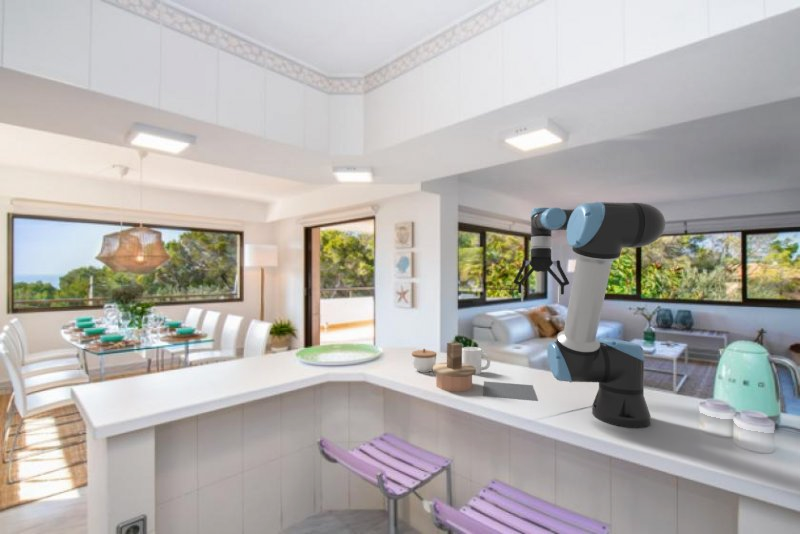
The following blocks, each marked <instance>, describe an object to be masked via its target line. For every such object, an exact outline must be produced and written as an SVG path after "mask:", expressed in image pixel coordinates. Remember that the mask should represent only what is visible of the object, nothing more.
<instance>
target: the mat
mask: <svg viewBox="0 0 800 534" xmlns="http://www.w3.org/2000/svg"><path fill="white" fill-rule="evenodd" d="M482 391H483V392H482V396H483V397H491V398H499V399H500V398H501V399H510V400H521V401H523V400H524V401H534V402H535V401H536V402H538V401H539V399H538V396H537V393H536V391H535V388H534V386H533V385H532V384H524V383H523V384H520V383H510V382H498V381H486V380H484V381H483V390H482Z"/></svg>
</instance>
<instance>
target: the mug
mask: <svg viewBox="0 0 800 534" xmlns="http://www.w3.org/2000/svg"><path fill="white" fill-rule="evenodd" d="M482 357H484V358H485V359H486V365H485V366H482ZM462 363H463V364H468V365H471V366H473V367H475V368H476V373H475V374H474V375H479V374H481V373H482V371H486V370H487V369H489V368H490V366H491V358H490V357H489V355H488V354H487V353H485V352H482V348H480V347H476V346H464V347H463V346H462Z"/></svg>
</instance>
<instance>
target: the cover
mask: <svg viewBox="0 0 800 534" xmlns="http://www.w3.org/2000/svg"><path fill="white" fill-rule="evenodd" d="M462 348H463V344H462V343H459V342H456V341H454V342H447V343H446V362H439V363H435V365H434V366H433V369H432V372H434V373H435V374H436V373H437V374H440V375H444V376H451V377H466V376H471V375H472V376H474V375H476V374H475V373H476V368H475V367H473V366H471V365H468V364H463V363H462Z"/></svg>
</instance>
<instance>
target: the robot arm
mask: <svg viewBox="0 0 800 534" xmlns="http://www.w3.org/2000/svg"><path fill="white" fill-rule="evenodd" d="M530 214H531V215H530V230H531V231H530V247H531V249H530V260H525V259H523V260H522V263H521V264H522V265H521V266H520V268H519V271H518V273H517V274H516V276H515V278H514V279H513V283H514V284H515V285H517V293H518V294H520V296H521V297H520V302H521V303H524V284H523V283H524V282H525V281H526V280H527V279H528V278H529V277H530V275H531V274H532V273H533V272H537V273H538V272H539V273H540V272H543V273H545V272H548V273H549V274H550V275H551V277H552V278H553V279H554V280H555V281H556V282H557V283H558V284H559V285H558V286H557V304H562V298H561V297H562V295H564V294H565V287H566V286H567V285H569V284H570V281H569V280H568V278H567V276H566V274H565V272H564V269H563V267H562V266H561V261H560V259H559V260H554V261H553V260H552V249H551V247H552V231H566V241H567V244H568V245H569V246H570V247H572V249H571V251H572V253H573V254H574V256H576V261H575V265H574V266H575V267H574V272H573V278H572V284H571V288H570V294H569V300H568V305H567V311H566V317H565V323H564V327H563V328H564V329H563V330H561V331H560V332H558V333H557V337H556V341H550V342H549V343H548V344H547V347H546V348H547V349H546V350H547V352H546V353H547V361H548V365H549V368H550V372H551V374H552V376H553V378H555V379H556V380H557V381H559V382H569V383H598V389H597V392H596V395H595V398H594V400H593V403H592V405H591V408H592V409H591V410H592V412H591V413H592V414H591V415H593V416H594V417H595V418H597V419H598V420H600V421H603V422H604V423H608V424H610V425H616V426H620V427H623V428H624V427H625V428H636V429H638V428H646V427H649V426H651V421H652V420H651V419H652V418H651V417H652V416H651V413H650V411H649V407H648V405H647V401H646V399H645V398H646V397H645V395H644V394H645V393H644V390H645V389H644V387H645V386H644V385H645V382H644V381H645V380H644V379H645V377H644V376H645V373H644V372H645V370H644V369H645V353H644V352H645V351H644V348H643V347H642V346H641V345H639V344H637V343H634V342H631V341H626V340H622V339H617V338H611V337H599V339H598V338H597V333H598V330H599V324H600V321H601V315H602V310H603V306H604V305H603V304H604V300H605V298H606V296H605V295H606V291H607V287H608V283H609V278H610V273H611V270H612V269H611V268H612V265H613V264H612V263H613V262H614V261H617V260H618V259H620V258H621V255H622V254H621V252H622V249H624V248H626V249H628V248H641V247H646V246H648V245H651V244H653V243H654V242H656V241H658V240H659V238H660V237H662V235H663V233H664V231H665V228H666V218H665V216H664V214H663V213H662V212H661V211H660V210H659V209H658V208H657V207H655V206H654V205H651V204H647V203H643V202H605V201H604V202H602V201H596V202H584V203H582V204H579V205H578V206H576V208H574V209H568V208H567V209H564V208H563V209H562V208H560V207H543V206H542V207H536V208H535V207H534V208H533V209H532V210H531V213H530ZM528 265H530V266H531V268H530V270H529V271H527V273H526V274H525V275H524V276H523V277H522V278H521V279H520V277H521V275H522V273H523V272H524V270H525V268H526V267H527V266H528ZM552 266H554V267H556V268H557V271H558V272H559V274H560V276H561V278H562V280H563V281H562V280H561V279H560V278H559V276H558V275H557V274H556V273H555V272H554V271H553V270H552V268H551V267H552ZM519 279H520V280H519ZM522 284H523V285H522Z"/></svg>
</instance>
